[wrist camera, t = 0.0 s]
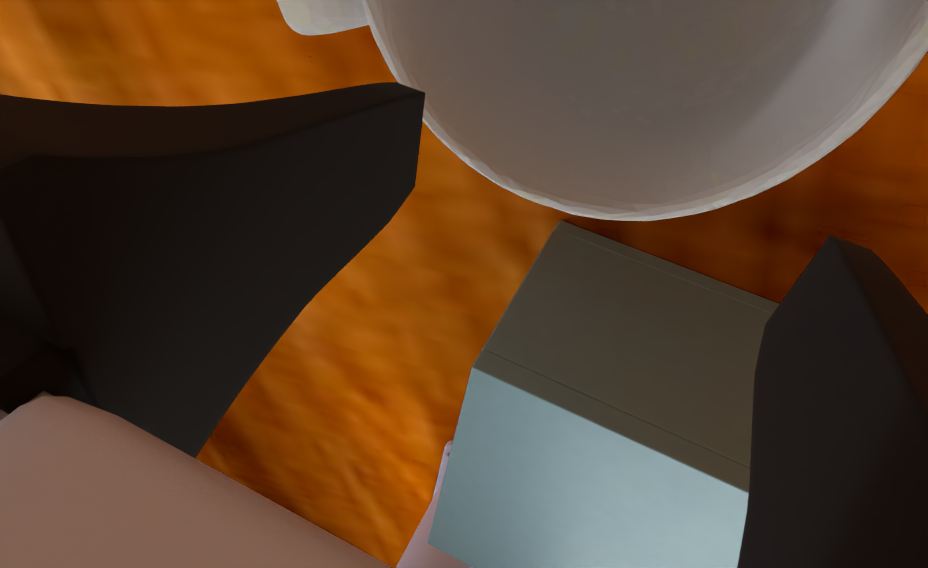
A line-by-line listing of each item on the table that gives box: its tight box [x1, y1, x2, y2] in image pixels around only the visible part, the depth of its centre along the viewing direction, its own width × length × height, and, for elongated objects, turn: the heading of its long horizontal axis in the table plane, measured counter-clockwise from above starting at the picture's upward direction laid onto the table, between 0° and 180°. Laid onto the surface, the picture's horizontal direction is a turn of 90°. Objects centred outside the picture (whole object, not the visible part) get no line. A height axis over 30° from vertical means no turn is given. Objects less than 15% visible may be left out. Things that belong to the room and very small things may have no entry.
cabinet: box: [427, 220, 779, 568], centre depth 22 cm, size 14×12×9 cm
